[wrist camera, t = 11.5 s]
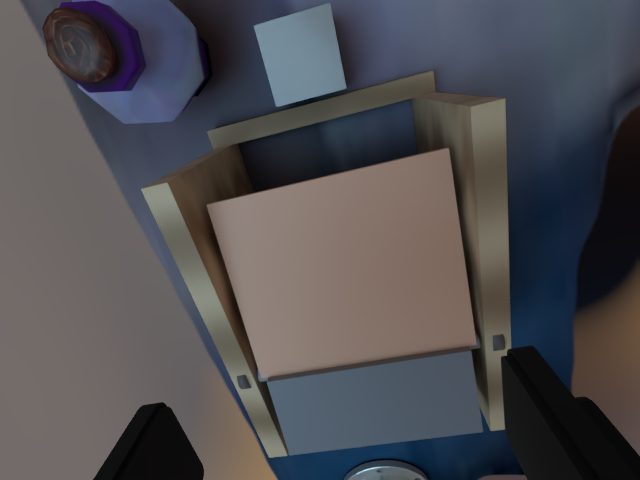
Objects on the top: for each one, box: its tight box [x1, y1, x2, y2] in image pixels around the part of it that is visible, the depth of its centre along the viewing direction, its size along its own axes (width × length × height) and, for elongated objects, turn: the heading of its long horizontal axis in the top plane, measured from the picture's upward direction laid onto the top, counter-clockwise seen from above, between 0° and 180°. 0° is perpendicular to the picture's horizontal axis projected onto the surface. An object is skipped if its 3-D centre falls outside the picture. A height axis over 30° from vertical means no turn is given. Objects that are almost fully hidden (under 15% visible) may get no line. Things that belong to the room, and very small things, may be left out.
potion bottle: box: [42, 0, 213, 124], centre depth 22 cm, size 9×9×12 cm
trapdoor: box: [206, 148, 483, 455], centre depth 23 cm, size 18×14×4 cm
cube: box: [254, 3, 347, 107], centre depth 25 cm, size 5×5×5 cm
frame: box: [141, 71, 511, 458], centre depth 27 cm, size 25×18×14 cm
